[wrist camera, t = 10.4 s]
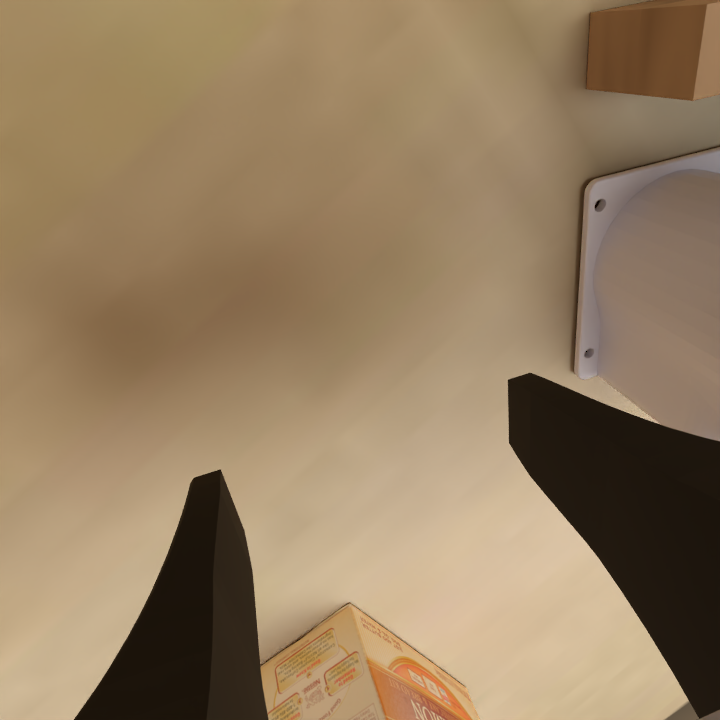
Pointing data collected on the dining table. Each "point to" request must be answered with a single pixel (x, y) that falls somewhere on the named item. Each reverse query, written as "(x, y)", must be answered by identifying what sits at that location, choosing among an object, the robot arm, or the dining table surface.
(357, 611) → the coffeecake box
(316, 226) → the dining table surface
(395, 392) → the dining table surface
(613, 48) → the walnut plank
